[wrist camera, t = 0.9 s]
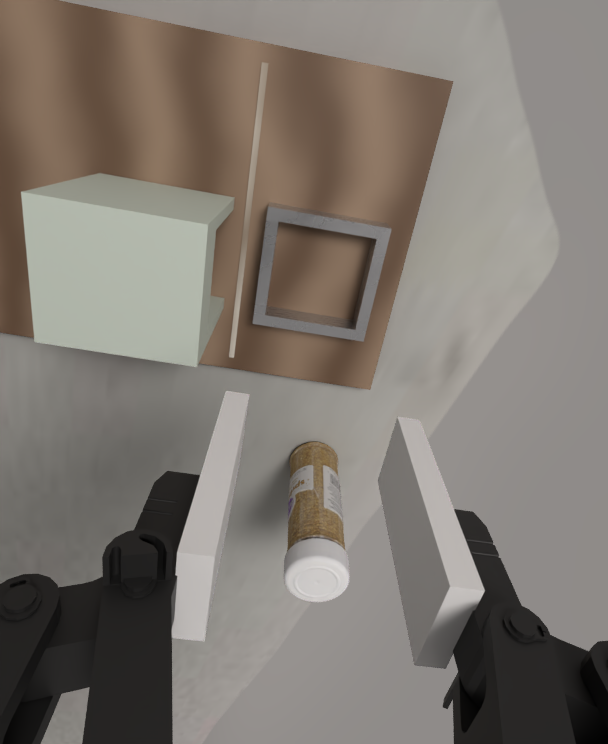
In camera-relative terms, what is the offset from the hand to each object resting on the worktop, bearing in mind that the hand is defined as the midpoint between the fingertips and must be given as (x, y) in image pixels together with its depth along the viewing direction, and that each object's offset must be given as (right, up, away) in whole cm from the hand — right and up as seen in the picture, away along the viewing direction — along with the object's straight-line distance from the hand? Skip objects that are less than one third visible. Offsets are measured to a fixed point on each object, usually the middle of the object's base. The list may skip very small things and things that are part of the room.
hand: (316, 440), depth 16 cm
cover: (-10, +11, +18) cm, 24 cm away
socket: (+1, +10, +19) cm, 21 cm away
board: (-8, +14, +19) cm, 25 cm away
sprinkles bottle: (0, -6, +29) cm, 29 cm away
